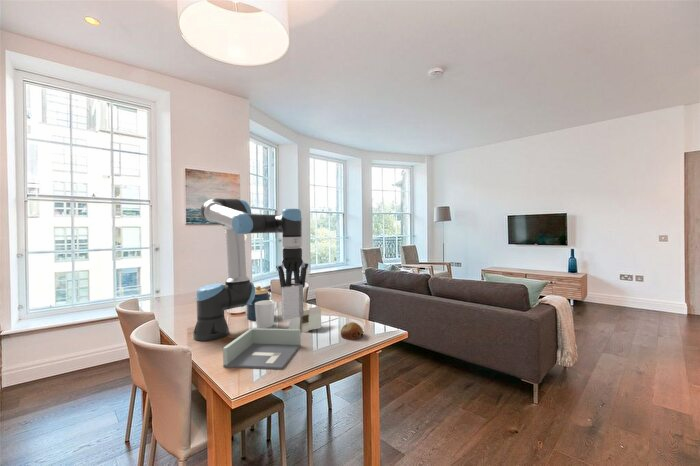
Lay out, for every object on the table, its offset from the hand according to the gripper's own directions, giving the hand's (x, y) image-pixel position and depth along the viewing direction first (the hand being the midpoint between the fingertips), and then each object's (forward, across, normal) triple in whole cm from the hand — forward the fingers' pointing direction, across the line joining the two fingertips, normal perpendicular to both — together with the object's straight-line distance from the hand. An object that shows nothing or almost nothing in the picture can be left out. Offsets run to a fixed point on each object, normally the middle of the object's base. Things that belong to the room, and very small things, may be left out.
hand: (293, 306), depth 122 cm
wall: (+19, +18, +22) cm, 34 cm away
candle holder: (+19, +4, +39) cm, 44 cm away
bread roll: (+18, +29, -1) cm, 34 cm away
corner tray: (+18, -10, +4) cm, 21 cm away
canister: (+19, +7, +57) cm, 61 cm away
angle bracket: (+2, -3, -2) cm, 4 cm away
